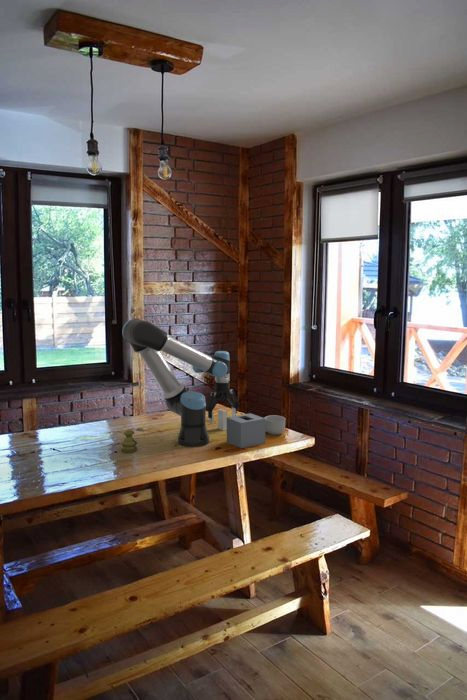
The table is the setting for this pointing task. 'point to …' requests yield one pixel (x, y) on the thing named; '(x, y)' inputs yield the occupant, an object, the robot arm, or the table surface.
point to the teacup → (274, 424)
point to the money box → (245, 430)
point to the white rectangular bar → (222, 419)
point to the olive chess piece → (129, 442)
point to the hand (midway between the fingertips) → (222, 422)
